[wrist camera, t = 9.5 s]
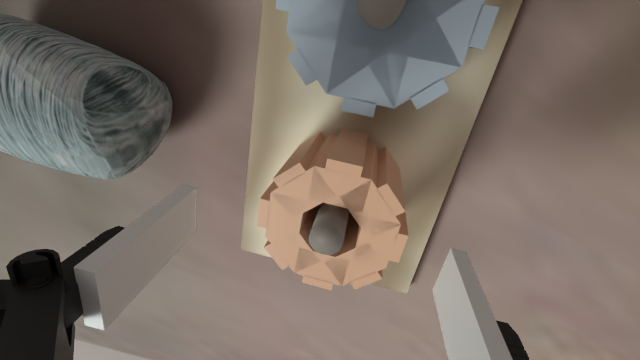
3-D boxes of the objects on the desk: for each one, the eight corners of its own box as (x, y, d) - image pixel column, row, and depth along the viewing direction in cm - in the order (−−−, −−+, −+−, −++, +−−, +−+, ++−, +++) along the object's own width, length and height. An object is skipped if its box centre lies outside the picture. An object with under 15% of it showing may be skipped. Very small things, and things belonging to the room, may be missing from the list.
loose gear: (280, 218, 25) (252, 268, 19) (295, 117, 21) (265, 144, 16) (383, 245, 24) (383, 304, 19) (416, 144, 21) (427, 182, 15)
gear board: (244, 243, 27) (196, 314, 20) (277, -114, 17) (205, -220, 10) (405, 286, 26) (414, 377, 19) (545, -71, 16) (673, -159, 9)
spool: (184, 46, 18) (-13, 144, 13) (204, 154, 26) (87, 246, 20) (31, -43, 21) (-187, 3, 15) (89, 78, 29) (-42, 139, 23)
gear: (281, 86, 21) (266, 93, 18) (307, -120, 16) (292, -152, 14) (442, 121, 20) (452, 134, 17) (516, -87, 15) (544, -115, 13)
